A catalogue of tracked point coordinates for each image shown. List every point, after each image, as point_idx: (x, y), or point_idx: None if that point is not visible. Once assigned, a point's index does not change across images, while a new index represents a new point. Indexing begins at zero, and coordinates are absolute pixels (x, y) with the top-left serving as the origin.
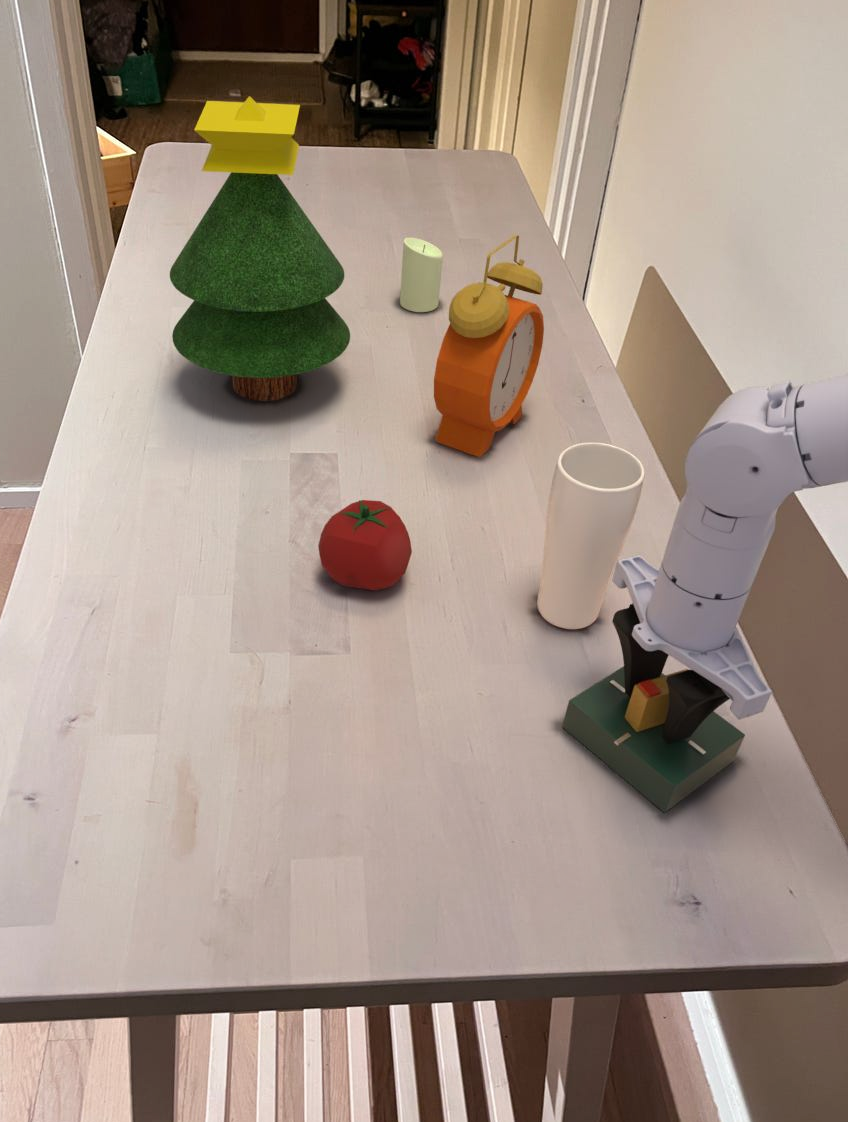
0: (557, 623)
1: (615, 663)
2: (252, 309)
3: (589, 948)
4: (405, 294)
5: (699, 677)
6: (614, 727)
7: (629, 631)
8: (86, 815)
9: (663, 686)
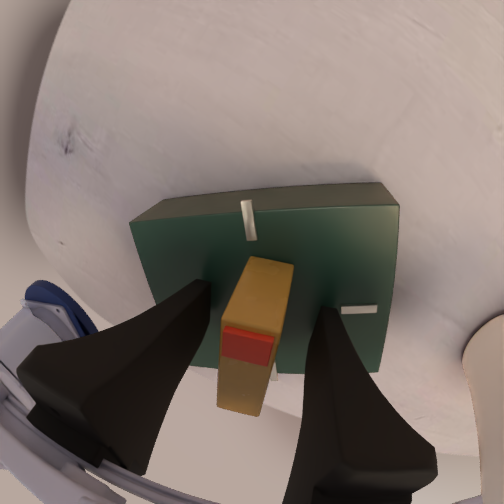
0: (497, 320)
1: (408, 336)
2: None
3: (74, 15)
4: None
5: (79, 433)
6: (284, 229)
7: (350, 479)
8: None
9: (239, 368)
